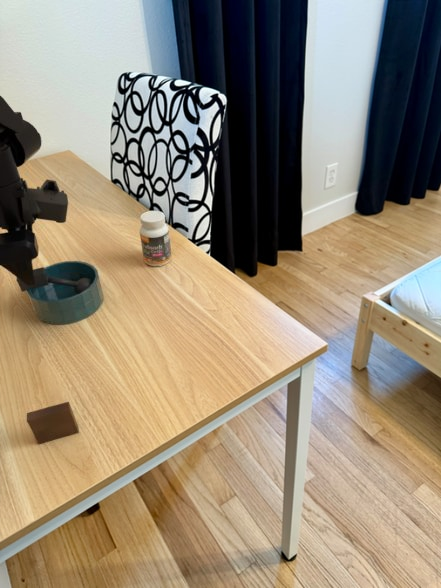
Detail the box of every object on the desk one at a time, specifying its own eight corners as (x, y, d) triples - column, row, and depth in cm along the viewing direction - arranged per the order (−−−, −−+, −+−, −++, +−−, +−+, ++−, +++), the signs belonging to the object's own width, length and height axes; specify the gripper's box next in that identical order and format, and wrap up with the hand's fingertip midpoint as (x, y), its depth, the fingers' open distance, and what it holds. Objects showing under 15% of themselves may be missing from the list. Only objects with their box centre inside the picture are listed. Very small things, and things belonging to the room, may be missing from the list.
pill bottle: (140, 266, 86) (133, 222, 80) (148, 251, 90) (141, 208, 84) (168, 268, 85) (163, 223, 79) (174, 252, 90) (170, 209, 83)
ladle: (96, 287, 79) (85, 254, 75) (98, 298, 77) (86, 264, 72) (33, 304, 77) (16, 271, 73) (32, 316, 75) (16, 282, 70)
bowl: (34, 331, 71) (25, 308, 68) (35, 290, 80) (27, 268, 77) (107, 315, 74) (101, 292, 71) (99, 277, 83) (94, 255, 80)
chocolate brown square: (38, 444, 55) (26, 420, 51) (38, 436, 55) (26, 412, 52) (78, 432, 56) (69, 408, 53) (78, 425, 57) (68, 401, 54)
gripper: (59, 197, 57) (85, 290, 66) (55, 151, 71) (77, 233, 80) (-32, 212, 54) (9, 307, 64) (-18, 161, 68) (14, 245, 78)
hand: (31, 269), depth 71 cm, fingers open, 9 cm apart
